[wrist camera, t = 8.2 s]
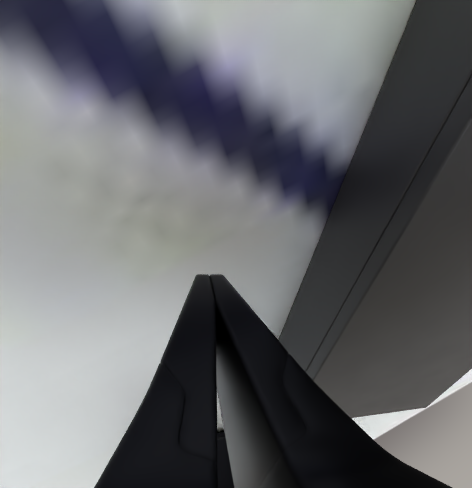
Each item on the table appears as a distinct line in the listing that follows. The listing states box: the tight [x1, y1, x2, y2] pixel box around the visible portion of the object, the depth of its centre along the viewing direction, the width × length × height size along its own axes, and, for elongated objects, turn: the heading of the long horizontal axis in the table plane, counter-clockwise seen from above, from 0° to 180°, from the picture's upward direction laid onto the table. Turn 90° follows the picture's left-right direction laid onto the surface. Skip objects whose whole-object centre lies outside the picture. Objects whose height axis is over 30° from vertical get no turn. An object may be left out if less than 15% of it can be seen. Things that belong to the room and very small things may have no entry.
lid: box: [279, 0, 472, 418], centre depth 12 cm, size 20×10×4 cm, turn 171°
